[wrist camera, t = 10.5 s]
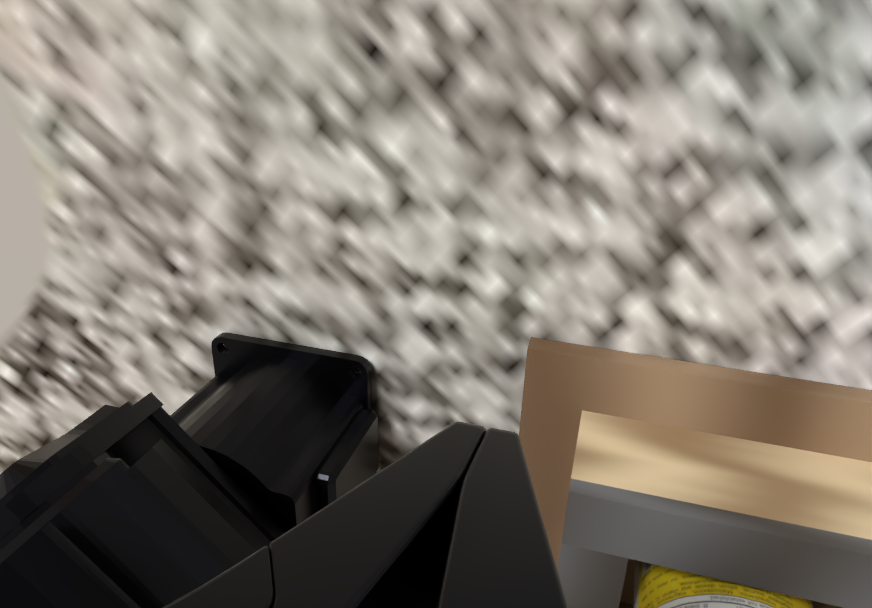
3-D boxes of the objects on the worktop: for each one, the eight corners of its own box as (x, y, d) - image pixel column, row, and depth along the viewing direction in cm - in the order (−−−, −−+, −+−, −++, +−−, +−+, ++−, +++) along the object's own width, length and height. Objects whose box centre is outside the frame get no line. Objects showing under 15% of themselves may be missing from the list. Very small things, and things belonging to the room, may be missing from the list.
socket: (502, 626, 28) (475, 739, 24) (531, 337, 23) (503, 418, 18) (868, 723, 25) (913, 875, 21) (1015, 412, 19) (1123, 535, 15)
